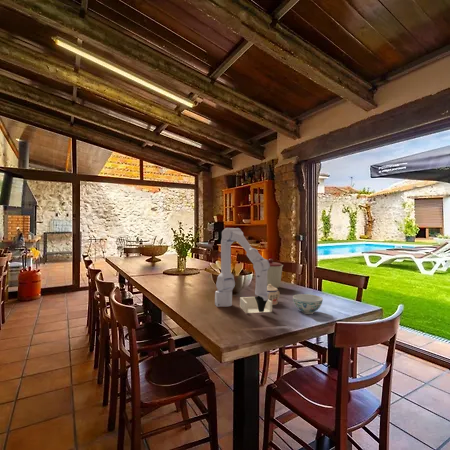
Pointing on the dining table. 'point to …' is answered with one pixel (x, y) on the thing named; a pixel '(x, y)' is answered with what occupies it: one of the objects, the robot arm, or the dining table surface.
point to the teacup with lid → (273, 294)
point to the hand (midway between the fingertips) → (261, 311)
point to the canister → (274, 273)
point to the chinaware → (307, 303)
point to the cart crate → (253, 305)
